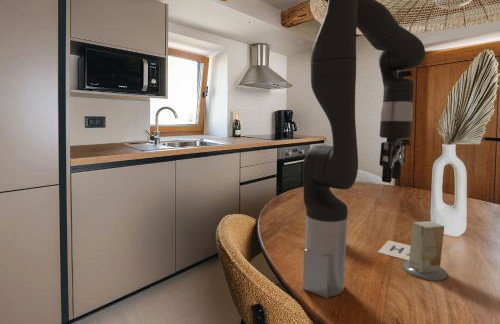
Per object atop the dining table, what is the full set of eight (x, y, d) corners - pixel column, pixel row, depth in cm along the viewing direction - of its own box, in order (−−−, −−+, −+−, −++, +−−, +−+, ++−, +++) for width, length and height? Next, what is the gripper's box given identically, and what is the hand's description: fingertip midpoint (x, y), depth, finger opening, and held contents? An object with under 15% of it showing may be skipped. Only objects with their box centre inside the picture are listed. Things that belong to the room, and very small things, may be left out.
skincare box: (421, 274, 75) (425, 227, 73) (407, 266, 79) (411, 222, 77) (441, 270, 76) (445, 225, 75) (427, 263, 81) (431, 220, 79)
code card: (422, 264, 81) (422, 264, 81) (377, 252, 89) (377, 251, 89) (430, 250, 90) (430, 250, 90) (388, 240, 98) (388, 240, 98)
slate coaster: (444, 285, 71) (444, 283, 71) (398, 272, 77) (398, 269, 77) (449, 269, 78) (449, 267, 78) (407, 258, 85) (407, 256, 85)
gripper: (404, 118, 70) (399, 185, 72) (418, 121, 81) (413, 179, 83) (372, 119, 75) (367, 181, 77) (389, 121, 86) (385, 176, 88)
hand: (391, 180), depth 80 cm, fingers open, 8 cm apart
